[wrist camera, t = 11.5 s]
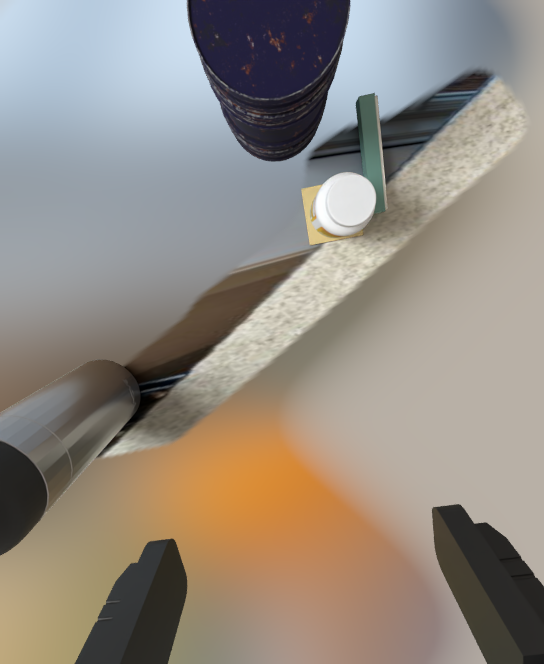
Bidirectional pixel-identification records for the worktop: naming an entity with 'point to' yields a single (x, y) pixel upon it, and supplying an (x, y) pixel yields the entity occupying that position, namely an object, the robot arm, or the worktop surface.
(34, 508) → the robot arm
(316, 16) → the dark blue cylinder
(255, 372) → the worktop surface
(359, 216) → the supplement bottle
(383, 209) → the price rail
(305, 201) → the pad
